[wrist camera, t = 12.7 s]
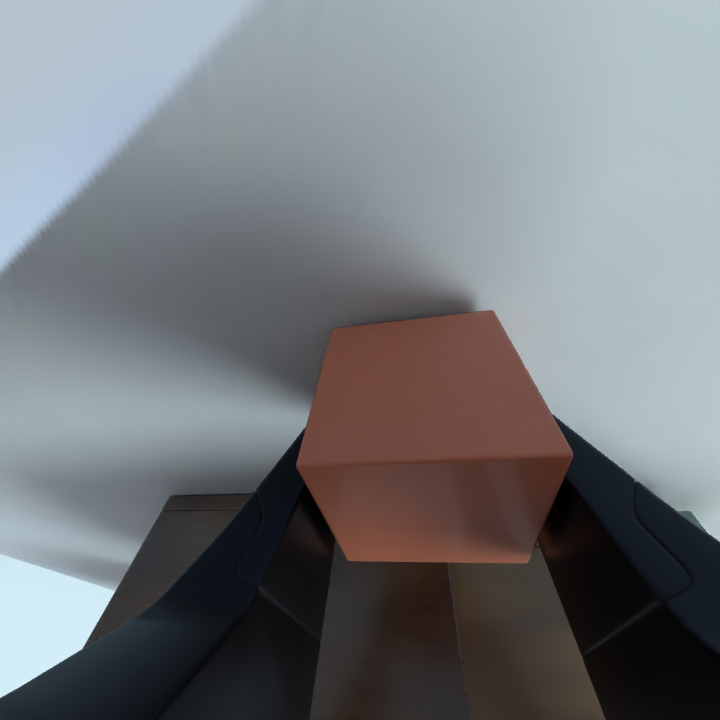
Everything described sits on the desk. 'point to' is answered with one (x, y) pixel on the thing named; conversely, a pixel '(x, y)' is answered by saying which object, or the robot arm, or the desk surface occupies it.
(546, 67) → the desk surface
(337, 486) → the block
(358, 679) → the cabinet
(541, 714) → the drawer
